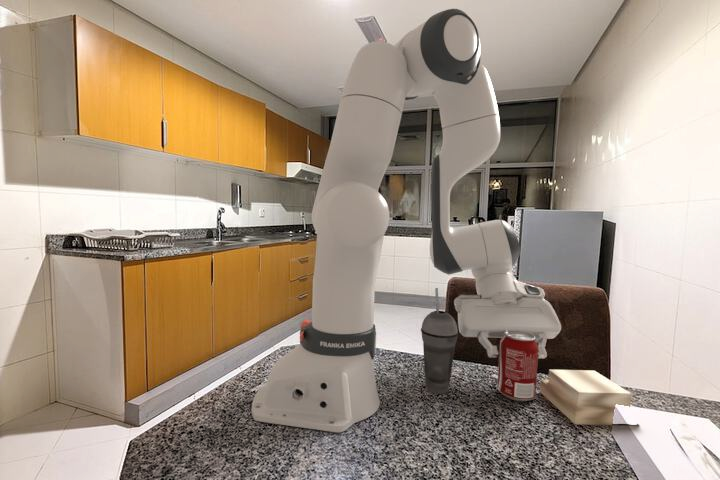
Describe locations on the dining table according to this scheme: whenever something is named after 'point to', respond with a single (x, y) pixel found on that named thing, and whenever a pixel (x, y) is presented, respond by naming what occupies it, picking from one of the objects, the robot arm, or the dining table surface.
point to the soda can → (518, 366)
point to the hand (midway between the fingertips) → (517, 356)
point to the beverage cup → (438, 348)
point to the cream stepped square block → (584, 395)
